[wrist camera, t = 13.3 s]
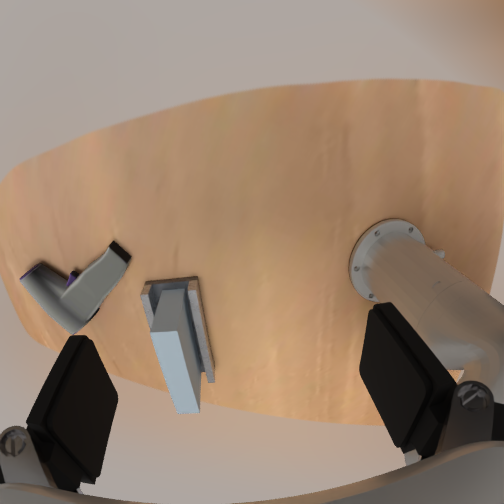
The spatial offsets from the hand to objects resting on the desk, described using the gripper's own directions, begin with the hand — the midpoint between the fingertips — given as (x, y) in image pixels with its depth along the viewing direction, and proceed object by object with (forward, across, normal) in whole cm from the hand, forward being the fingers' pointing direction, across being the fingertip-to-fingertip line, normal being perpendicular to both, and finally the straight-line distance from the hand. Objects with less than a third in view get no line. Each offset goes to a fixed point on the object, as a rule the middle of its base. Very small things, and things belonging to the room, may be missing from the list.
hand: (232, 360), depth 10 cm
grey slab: (+27, +8, +19) cm, 34 cm away
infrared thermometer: (+29, +22, +8) cm, 37 cm away
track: (+28, +8, +19) cm, 35 cm away
